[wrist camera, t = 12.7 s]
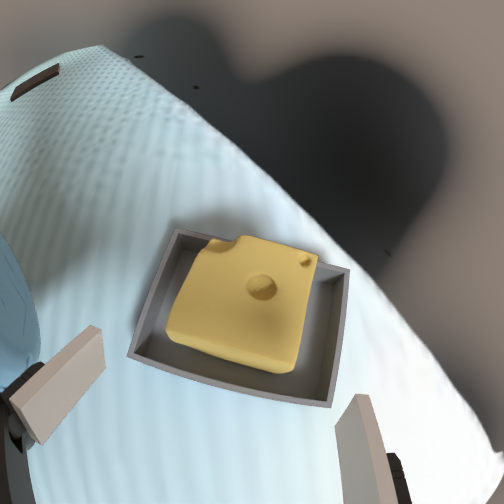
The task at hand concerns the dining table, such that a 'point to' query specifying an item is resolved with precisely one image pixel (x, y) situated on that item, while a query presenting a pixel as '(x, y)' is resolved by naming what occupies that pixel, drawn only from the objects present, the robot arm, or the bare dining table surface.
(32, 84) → the hardcover book
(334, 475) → the dining table surface
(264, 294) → the cheese
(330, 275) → the bin
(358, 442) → the robot arm
